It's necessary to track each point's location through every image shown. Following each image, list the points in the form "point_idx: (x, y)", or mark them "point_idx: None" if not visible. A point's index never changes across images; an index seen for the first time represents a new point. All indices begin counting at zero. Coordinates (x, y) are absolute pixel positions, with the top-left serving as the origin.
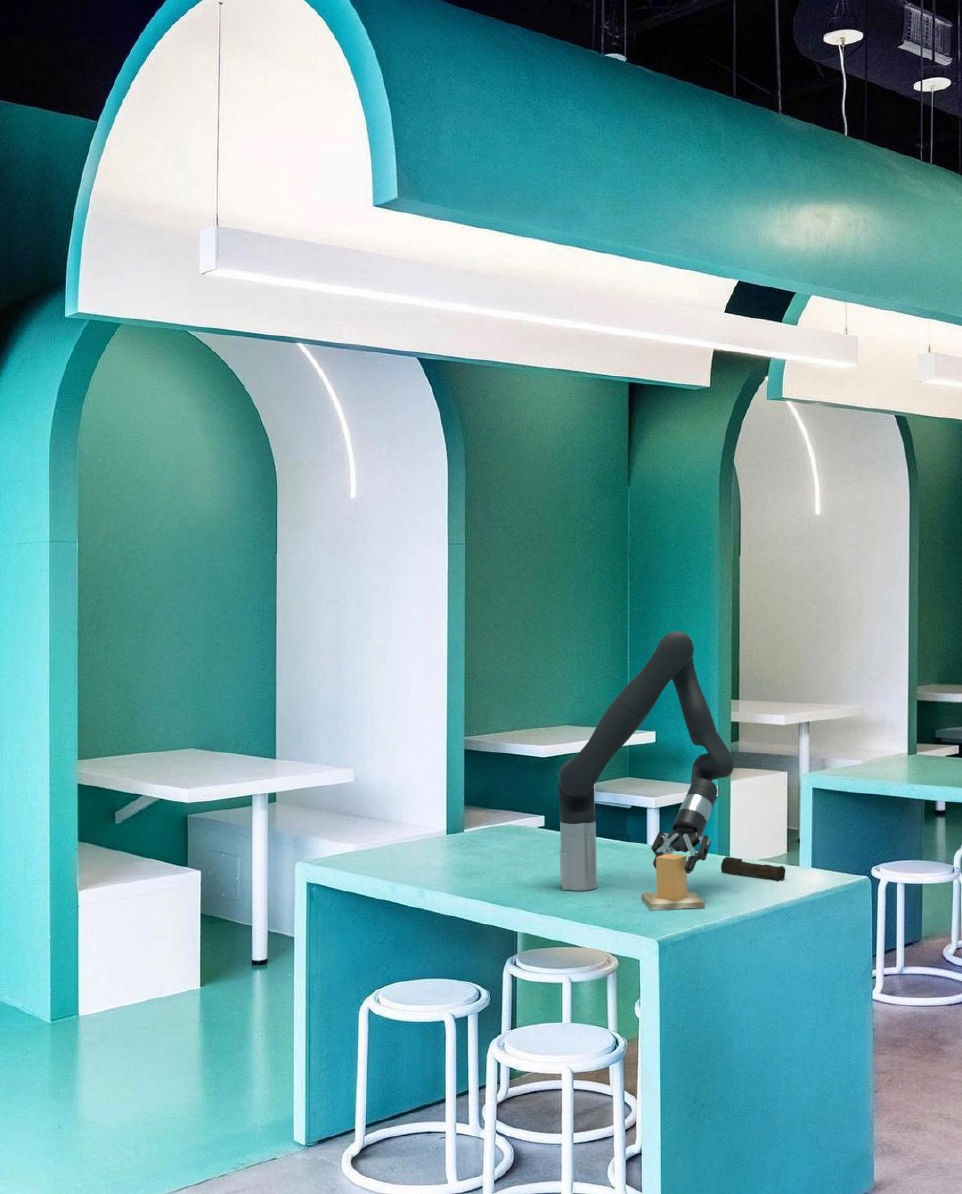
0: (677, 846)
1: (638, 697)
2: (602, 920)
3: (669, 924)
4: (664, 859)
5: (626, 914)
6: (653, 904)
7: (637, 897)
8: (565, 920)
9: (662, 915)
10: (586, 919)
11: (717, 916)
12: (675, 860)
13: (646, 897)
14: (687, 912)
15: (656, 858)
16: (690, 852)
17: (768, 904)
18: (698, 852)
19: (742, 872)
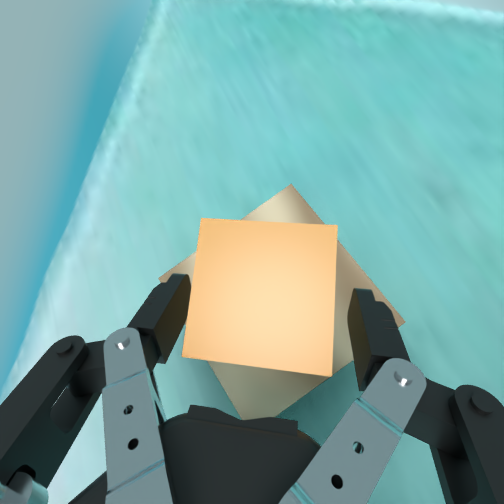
0: (251, 420)
1: None
2: (348, 47)
3: (187, 91)
4: (275, 223)
5: (328, 125)
6: (284, 189)
7: (427, 344)
8: (432, 4)
9: (238, 159)
10: (391, 36)
11: (111, 212)
12: (203, 220)
13: (350, 262)
14: (193, 218)
15: (333, 227)
16: (136, 352)
17: None
18: (76, 349)
19: None
